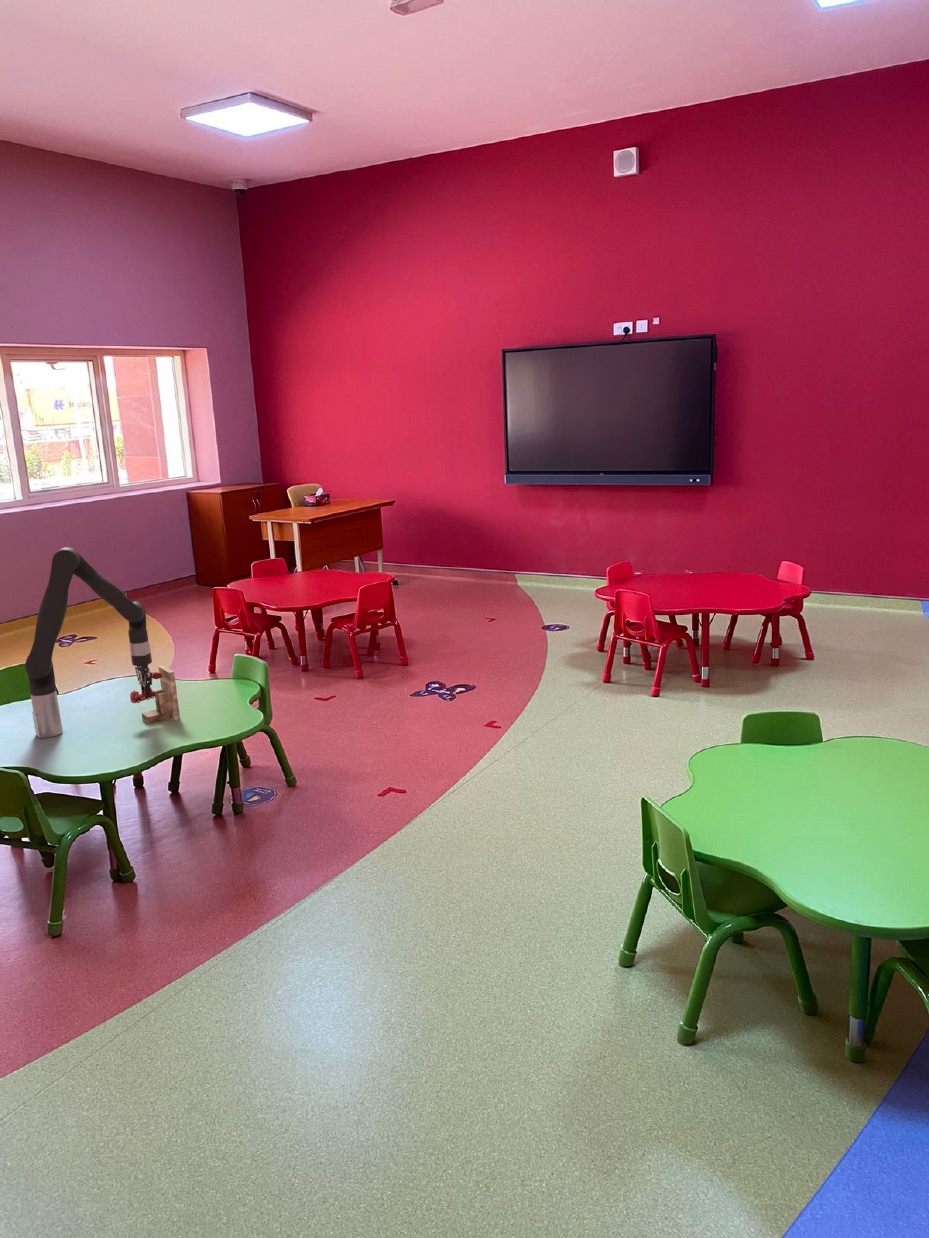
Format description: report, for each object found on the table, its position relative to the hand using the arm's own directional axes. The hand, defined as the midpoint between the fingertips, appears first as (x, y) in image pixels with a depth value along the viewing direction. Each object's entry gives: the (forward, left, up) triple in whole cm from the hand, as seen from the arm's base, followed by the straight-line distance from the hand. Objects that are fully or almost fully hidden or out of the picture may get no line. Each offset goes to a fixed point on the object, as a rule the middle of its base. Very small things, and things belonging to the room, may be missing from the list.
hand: (146, 693), depth 367 cm
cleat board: (+4, 0, -12) cm, 12 cm away
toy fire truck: (0, 0, -3) cm, 3 cm away
